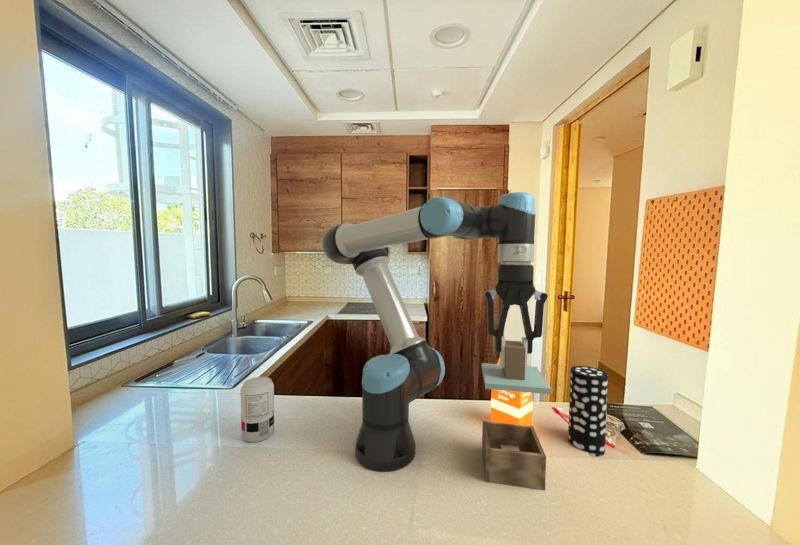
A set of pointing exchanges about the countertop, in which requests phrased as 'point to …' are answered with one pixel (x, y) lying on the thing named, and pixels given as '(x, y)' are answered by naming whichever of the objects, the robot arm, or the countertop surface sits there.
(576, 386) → the white-spotted black cylinder
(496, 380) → the lid
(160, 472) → the countertop surface
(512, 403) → the orange juice
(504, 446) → the metal cube
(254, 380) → the supplement can
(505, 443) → the storage box
